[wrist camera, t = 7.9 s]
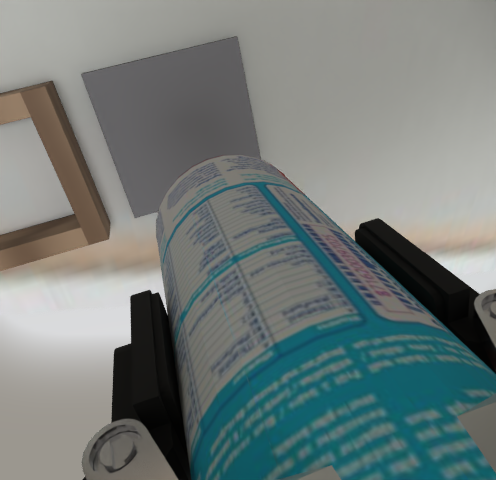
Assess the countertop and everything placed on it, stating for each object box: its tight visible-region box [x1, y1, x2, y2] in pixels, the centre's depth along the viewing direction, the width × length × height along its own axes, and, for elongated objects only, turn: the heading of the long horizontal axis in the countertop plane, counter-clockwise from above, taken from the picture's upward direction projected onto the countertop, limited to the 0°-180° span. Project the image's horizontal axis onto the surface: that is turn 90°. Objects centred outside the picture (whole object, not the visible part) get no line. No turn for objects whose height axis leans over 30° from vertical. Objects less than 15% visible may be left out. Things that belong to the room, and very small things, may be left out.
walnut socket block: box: [0, 81, 110, 271], centre depth 29 cm, size 11×11×3 cm
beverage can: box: [156, 155, 496, 480], centre depth 11 cm, size 6×6×15 cm
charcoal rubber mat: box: [81, 37, 261, 218], centre depth 32 cm, size 11×11×1 cm
